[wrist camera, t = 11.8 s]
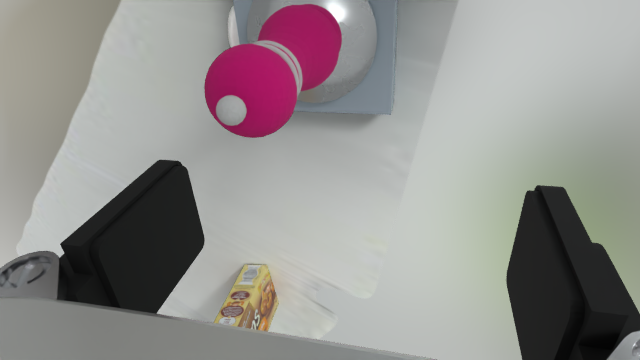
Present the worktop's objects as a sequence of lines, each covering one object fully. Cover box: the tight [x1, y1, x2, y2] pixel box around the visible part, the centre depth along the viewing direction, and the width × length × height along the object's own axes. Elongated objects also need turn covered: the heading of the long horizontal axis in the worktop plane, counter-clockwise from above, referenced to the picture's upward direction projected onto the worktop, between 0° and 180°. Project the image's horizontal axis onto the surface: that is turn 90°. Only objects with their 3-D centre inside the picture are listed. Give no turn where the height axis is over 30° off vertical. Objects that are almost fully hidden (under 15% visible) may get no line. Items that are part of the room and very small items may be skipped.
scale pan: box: [247, 0, 377, 103], centre depth 41 cm, size 13×13×1 cm
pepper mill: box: [205, 4, 342, 138], centre depth 32 cm, size 7×7×20 cm
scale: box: [228, 0, 398, 115], centre depth 43 cm, size 17×16×6 cm
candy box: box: [214, 264, 279, 331], centre depth 61 cm, size 9×4×15 cm, turn 11°
